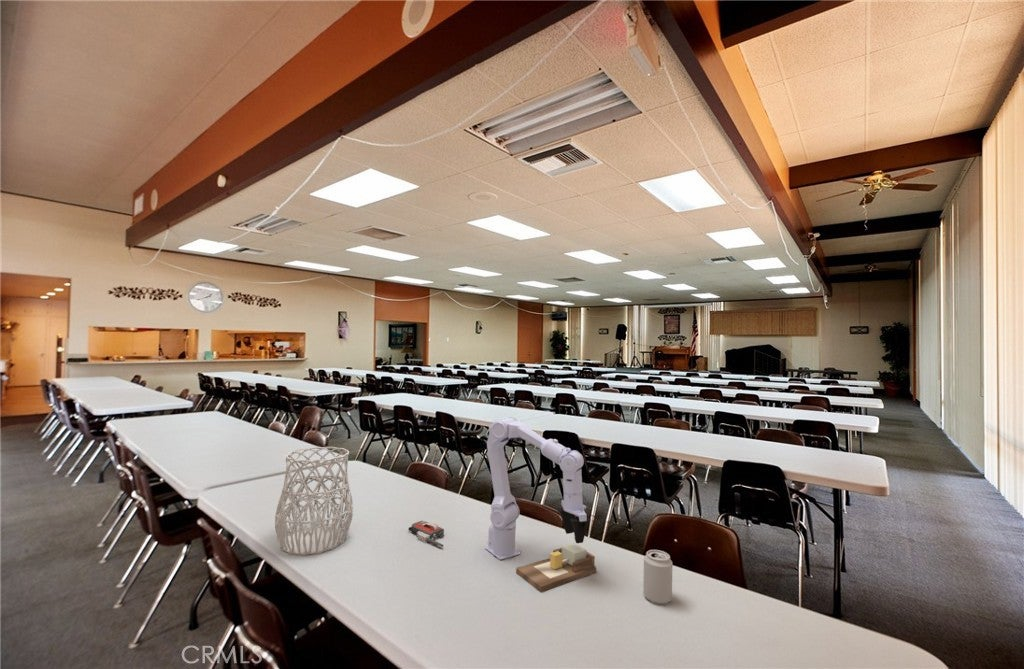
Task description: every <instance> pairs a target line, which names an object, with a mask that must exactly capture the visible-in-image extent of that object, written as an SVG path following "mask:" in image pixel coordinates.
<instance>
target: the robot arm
mask: <svg viewBox="0 0 1024 669" xmlns="http://www.w3.org/2000/svg"><path fill="white" fill-rule="evenodd" d="M488 432H489V433H488V437H487V442H486V448H487V455H488V461H489V467H490V468H489V469H490V475H491V480H492V488H493V493H494V494H493V495H494V497H493V500H492V503H491V505H490V508H491V513H490V517H489V518H490V522H491V523H490V525H489V527H488V537H487V538H488V542H487V546H485V550H487V551H488V552H489V553H491V555H493V556H494V557H496V558H498V560H501V561H502V560H505V559H509V558H512V557H516V556H519V555H521V552H520V551H519V550H517V549H516V529H517V527H516V526H517V524H516V522H517V519H518V518H519V517H520V513H521V512H520V507H519V506H518V504H517V502H516V498H515V496H514V495H512V493H511V487H510V482H509V474H508V467H507V462H506V456H505V454H506V453H505V449H504V447H505V445H506V444H507V443H508V442H509V440H510V439H515V438H516V439H517V438H518V439H519V438H520V439H522V440H524V441H526V442H528V443H529V444H531V445H533V446H535V447H536V448H538V449H540V452H541V454H542V455H543V456H544V457H546V458H547V459H549V460H550V461H552V462H553V463H555V464H556V465H559V467H560V470H561V471H562V482H563V484H562V486H563V499H562V500H561V503H560V504H561V507H562V508H559V509H558V513H559V515H560V517H561V519H562V522H563V527H564V528H563V529H564V532H565V533H566V535H568V534H569V535H570V534H573V536H574V541H575V544H583V543H584V539H585V536H586V535H585V534H586V531H587V528H588V526H589V524H590V522H591V519H589V518H588V517H587V513H586V512H585V509H587V506H586V505H585V504H583V502H584V501H583V477H582V467H583V466H584V464H585V463H584V462H585V460H584V457H583V455H582V453H580V452H579V451H578V450H574V449H573V450H572V449H571V448H570V447H566V446H564V445H563V444H561V443H559V440H558V439H556V438H554V439H553V438H549V439H548V438H547V439H546V438H545V437H543V436H541V435H540V434H539V433H537V432H535V431H534V430H533V429H531V428H530V427H529V426H527V425H525V424H524V423H523V421H521V420H519V419H517V418H515V417H513V416H510V417H507V418H504V419H498V420H495V421H493V422H492V423H491V425H490V426H489V427H488Z"/></svg>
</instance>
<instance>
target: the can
mask: <svg viewBox="0 0 1024 669" xmlns="http://www.w3.org/2000/svg"><path fill="white" fill-rule="evenodd" d="M642 586H643V596H644V597H645V598H646V600H648V601H649V602H650V603H653V604H655V605H659V606H660V605H667V604H668V603H669V602H671V601H672V599H673V561H672V560H671V555H670V554H669V553H667V552H666V551H664V550H660V549H659V550H658V549H649V550H648V551H646V552H645V556H644V557H643V585H642Z"/></svg>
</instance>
